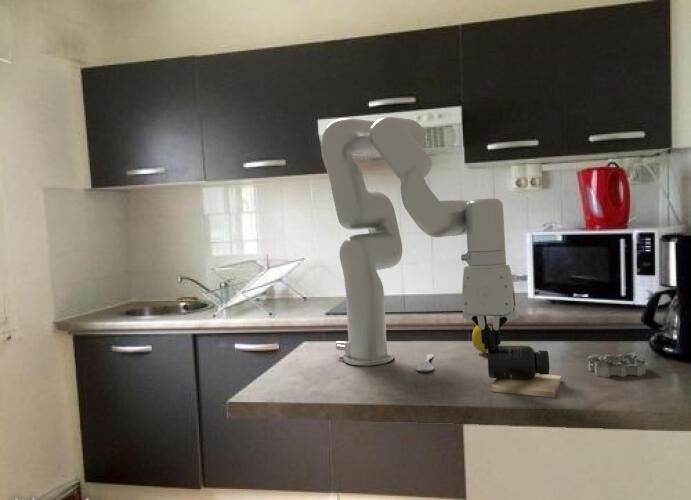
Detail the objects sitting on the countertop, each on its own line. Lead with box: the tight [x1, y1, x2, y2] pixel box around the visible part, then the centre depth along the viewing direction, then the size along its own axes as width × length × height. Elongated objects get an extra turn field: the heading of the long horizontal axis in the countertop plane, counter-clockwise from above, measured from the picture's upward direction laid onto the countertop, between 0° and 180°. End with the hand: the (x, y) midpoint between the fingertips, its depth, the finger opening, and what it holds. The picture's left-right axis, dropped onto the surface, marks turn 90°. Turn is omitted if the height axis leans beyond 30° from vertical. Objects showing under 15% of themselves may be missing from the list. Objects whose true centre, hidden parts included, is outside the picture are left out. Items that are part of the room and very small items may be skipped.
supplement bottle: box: [487, 344, 550, 379], centre depth 115 cm, size 7×7×12 cm
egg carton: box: [586, 351, 649, 378], centre depth 119 cm, size 11×8×4 cm
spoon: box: [415, 353, 435, 373], centre depth 135 cm, size 4×21×2 cm, turn 165°
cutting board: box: [490, 373, 562, 398], centre depth 113 cm, size 12×11×1 cm
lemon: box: [471, 325, 492, 355], centre depth 139 cm, size 6×6×8 cm
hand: (491, 347), depth 115 cm, fingers closed
